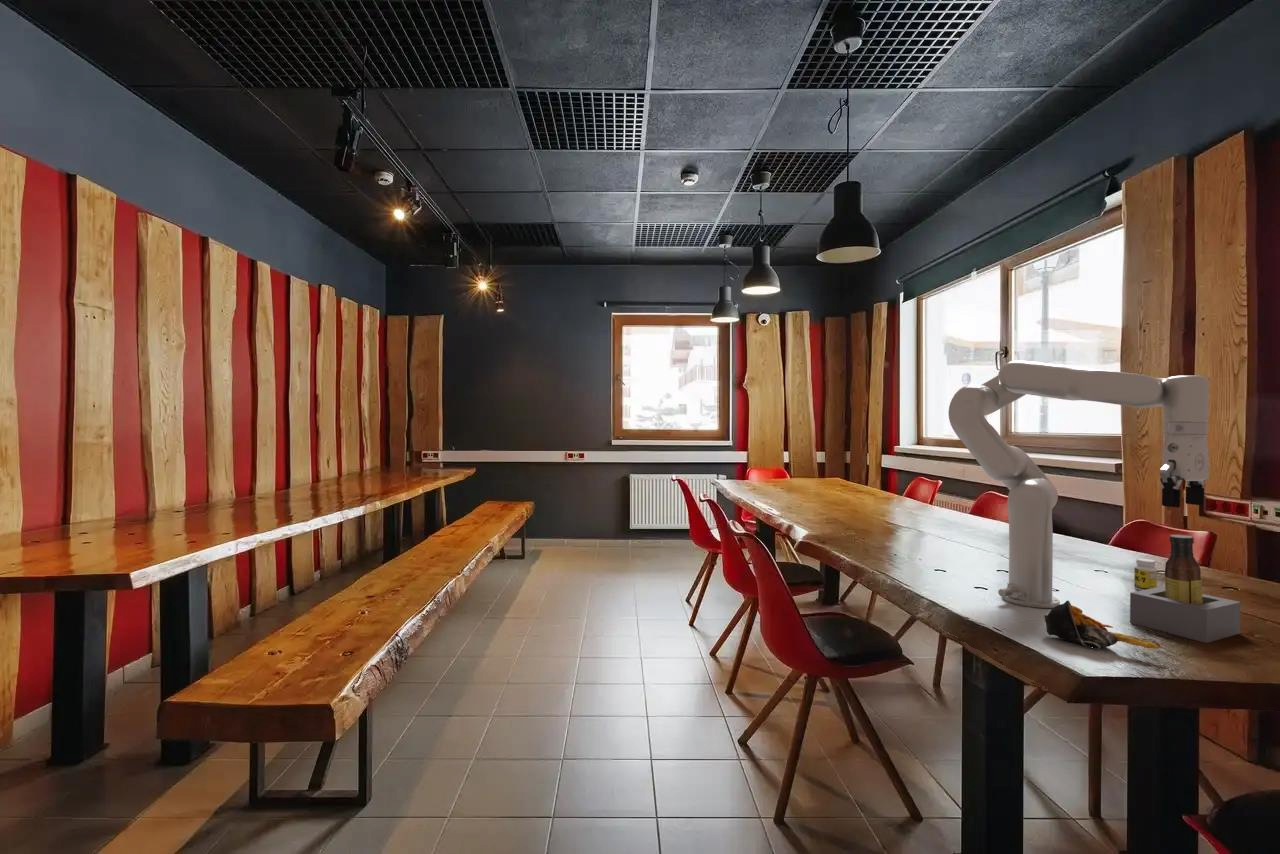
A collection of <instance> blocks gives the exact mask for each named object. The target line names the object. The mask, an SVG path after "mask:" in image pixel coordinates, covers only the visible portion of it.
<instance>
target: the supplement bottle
mask: <svg viewBox="0 0 1280 854" xmlns="http://www.w3.org/2000/svg"><path fill="white" fill-rule="evenodd" d="M1135 561H1136V563H1135V564H1136V565H1134V574H1133V575H1134V576H1133V577H1134V578H1133V579H1134V581H1133V582H1134V587H1133V588H1134V589H1135V590H1136V591H1141V590H1146V589H1151V588H1156V587H1158V586H1157V584H1158V578H1157V577H1158V575H1157V574H1158V570H1157V568H1156V560H1153V559H1149V558H1141V557H1140V558H1136V560H1135Z"/></svg>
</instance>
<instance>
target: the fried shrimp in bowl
mask: <svg viewBox="0 0 1280 854" xmlns="http://www.w3.org/2000/svg"><path fill="white" fill-rule="evenodd" d="M1043 617H1044V622H1045V625H1046V632H1047V634H1048V635H1049V636H1056V637H1058V638H1059V639H1061V640H1063V641H1067V642H1073V643H1079V644H1081V645H1083V646H1085V647H1087V646H1088V647H1087V648H1089V647H1093V648H1096V649H1095V650H1100V649H1101V648H1108V647H1111V646H1113V645H1115V644H1117V642H1122V643H1125V644H1129V645H1132V646H1139V647H1143V648H1145V649H1160V648H1161V643H1160V642H1158V641H1156V640H1154V639H1151V638H1149V639H1147V638H1143V637H1141V636H1140V637H1139V636H1135V635H1127V634H1122V633H1117V632H1112V631H1110V630H1109V631H1108V629H1107V628H1110V629H1111V628H1114V627H1113V626H1112V625H1109V624H1104V623H1102V622H1099V620H1095V618H1092V617H1090V616H1087V615H1086V614H1085V613H1084V614H1083V610H1082V609H1081V608H1080V607H1078V606H1074V605H1072V604H1071V601H1070V600H1066V601H1065V602H1064V603H1061V604H1060V605H1057V606H1055V607H1054V608H1051V610H1050V611H1049V612H1048V614H1045V615H1043ZM1093 648H1092V649H1093Z"/></svg>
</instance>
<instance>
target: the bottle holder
mask: <svg viewBox="0 0 1280 854" xmlns="http://www.w3.org/2000/svg"><path fill="white" fill-rule="evenodd" d="M1129 595H1130V596H1129V601H1130V602H1129V608H1130V609H1129V622H1130V623H1131V624H1134V625H1137V624H1138V626H1141V625H1142V627H1145V626H1146V627H1145V628H1148V627H1149V628H1148V629H1152V628H1153V630H1156V629H1157V630H1156V631H1160V630H1161V632H1163V631H1164V633H1167V632H1168V634H1171V635H1175V636H1180V637H1182V638H1187V639H1190V640H1194V641H1197V642H1201V643H1206V644H1208V643H1212V642H1215V641H1219V640H1222V639H1223V640H1224V639H1226V638H1229V637H1233V636H1236V635H1240V634H1241V601H1238V600H1233V599H1228V598H1223V597H1219V596H1218V597H1217V596H1214V595H1209V594H1204V593H1202V602H1203V604H1202V605H1195V604H1190V603H1186V602H1181V601H1177V600H1173V599H1168V598H1166V594H1165V585H1161V586H1157V587H1156V588H1151V589H1146V590H1141V591H1140V590H1135V591H1132V592H1130V594H1129Z"/></svg>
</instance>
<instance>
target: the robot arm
mask: <svg viewBox="0 0 1280 854" xmlns="http://www.w3.org/2000/svg"><path fill="white" fill-rule="evenodd" d="M1026 395H1030V396H1037V397H1043V398H1044V397H1046V398H1051V399H1058V400H1067V401H1087V402H1088V401H1090V402H1096V403H1097V402H1098V403H1105V404H1111V405H1112V404H1113V405H1117V406H1118V405H1119V406H1126V407H1131V408H1132V407H1133V408H1136V409H1149V408H1150V409H1151V408H1156V407H1157V408H1158V407H1163V417H1162V419H1163V423H1162V436H1163V437H1164V443H1163V448H1162V457H1161V468H1160V469H1159V476H1160V480H1159V481H1160V483H1161V485H1160V487H1161V506H1163V507H1169V508H1180V507H1181V502H1182V501H1181V497H1182V490H1181V489H1180V486H1181V484H1182V482H1183V480H1184V481H1186V483H1187V486H1185V500H1184V501H1185V504H1186V505H1195V506H1204V505H1205V487H1206V481H1207V480H1208V479H1209V478H1210V453H1209V445H1208V440H1207V438H1208V436H1209V435H1208V434H1209V402H1210V401H1209V400H1210V399H1209V396H1210V381H1209V379H1208V377H1206V376H1204V375H1197V374H1196V375H1192V374H1191V375H1175V376H1174V375H1172V376H1169V377H1165V378H1164V377H1154V376H1152V375H1147V374H1140V373H1132V372H1131V373H1130V372H1121V371H1115V370H1114V371H1113V370H1106V369H1105V370H1103V369H1095V368H1087V367H1082V366H1075V365H1065V364H1057V363H1055V364H1054V363H1046V362H1045V363H1044V362H1038V361H1029V360H1028V361H1027V360H1011V361H1008V362H1006V363H1004V364H1003V365H1002V366H1001V367H1000V369H999V371H998V374H997V375H996V376H995V377H993V378H991V379H989V380H987V381H986V382H984V383H982V384H981V385H980V384H969V385H965V386H962V387H961V388H959V389H958V390H957V391H956V392H955V394H954V395H953V397H952V398H951V401H950V402H949V406H948V420H949V424H950V426H951V428H952V430H953V432H954V433H955V434H956V436H957V437H958V439H959V440H960V441H961V442H962V444H963V445H964V447H965V448H966V449H967V450H968V452H969V453H970V454H971V456H972V457H973V458H974V459H975V460H976V462H977V463H978V464H979V465H980V467H981V468H982V469H983V471H984V472H985V473H986V475H987V476H989V477H990V478H991V479H993V480H995V481H997V482H1002V483H1003V484H1004V485H1005V486H1006V488H1007V490H1009V492H1008V496H1007V506H1006V507H1007V515H1008V516H1007V517H1008V583H1007V587H1005V588H1000V589H998V595H999V596H1000V597H1001V598H1002V599H1003V600H1005V601H1007V602H1009V603H1012V604H1014V603H1015V605H1017V606H1018V605H1020V606H1024V607H1029V608H1030V607H1031V608H1038V609H1053V608H1054V607H1055V606H1057V605H1060V603H1061V602H1060V599H1059V598H1057V597H1055V596H1053V570H1054V569H1053V567H1054V566H1053V564H1054V563H1053V557H1054V556H1053V555H1054V554H1053V553H1054V547H1053V545H1054V541H1053V540H1054V539H1053V537H1054V536H1053V535H1054V534H1053V533H1054V532H1053V530H1054V529H1053V528H1054V527H1053V508H1054V507H1055V506H1056V504H1057V502H1058V500H1059V492H1058V489H1057V488H1056V486H1055V485H1054V483H1052V481H1051V480H1050V479H1049V477H1047V475H1046V474H1045V473H1044V472H1043V471H1042V470H1041V468H1040V467H1039V466H1038V465H1037V463H1036V462H1034V460H1033V459H1032V458H1031V457H1030V456H1029V455H1028V454H1027V452H1025V451H1024V450H1023V449H1021V448H1020V447H1017V446H1014V445H1010V444H1009V443H1008V442H1006V440H1005V439H1004V438H1003V437H1002V436H1001V435H1000V434H999V432H998V431H997V430H996V428H994V426H993V425H991V424H992V423H989V421H988V419H987V418H986V417H985V416H988V415H991V414H993V413H995V412H997V411H999V410H1001V409H1002V408H1004V407H1006V406H1008V405H1010V404H1011V403H1014V402H1016V401H1017V400H1020V399H1021V398H1023V397H1024V396H1026Z"/></svg>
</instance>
